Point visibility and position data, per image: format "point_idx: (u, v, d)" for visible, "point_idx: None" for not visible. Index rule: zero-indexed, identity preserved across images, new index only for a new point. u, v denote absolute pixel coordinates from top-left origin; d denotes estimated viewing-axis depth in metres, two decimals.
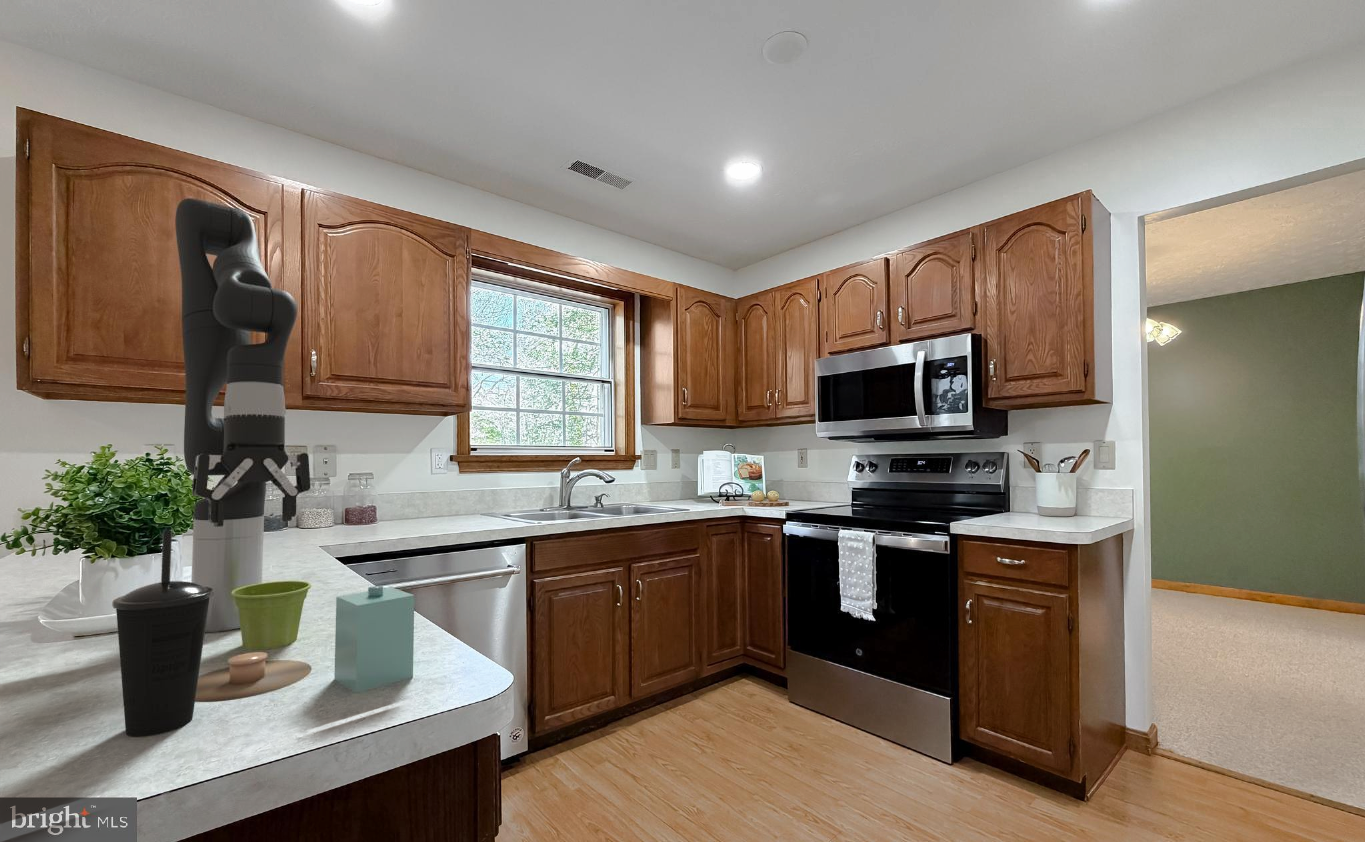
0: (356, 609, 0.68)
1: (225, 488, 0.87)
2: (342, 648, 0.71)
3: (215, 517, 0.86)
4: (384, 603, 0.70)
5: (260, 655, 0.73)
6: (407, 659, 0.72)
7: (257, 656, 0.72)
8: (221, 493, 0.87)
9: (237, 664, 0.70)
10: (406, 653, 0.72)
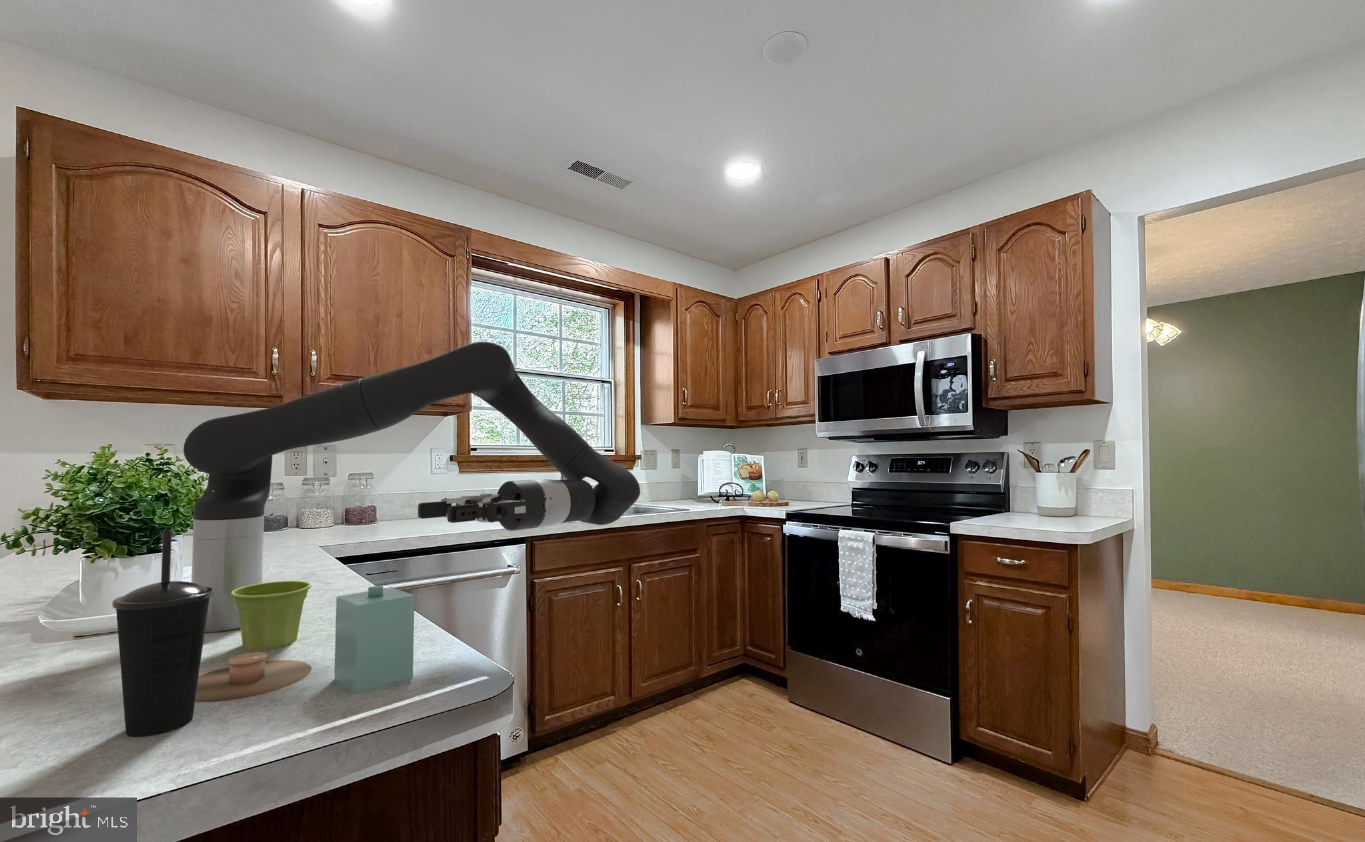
0: (356, 609, 0.68)
1: None
2: (342, 648, 0.71)
3: (460, 520, 0.81)
4: (384, 603, 0.70)
5: (260, 655, 0.73)
6: (407, 659, 0.72)
7: (257, 656, 0.72)
8: None
9: (237, 664, 0.70)
10: (406, 653, 0.72)
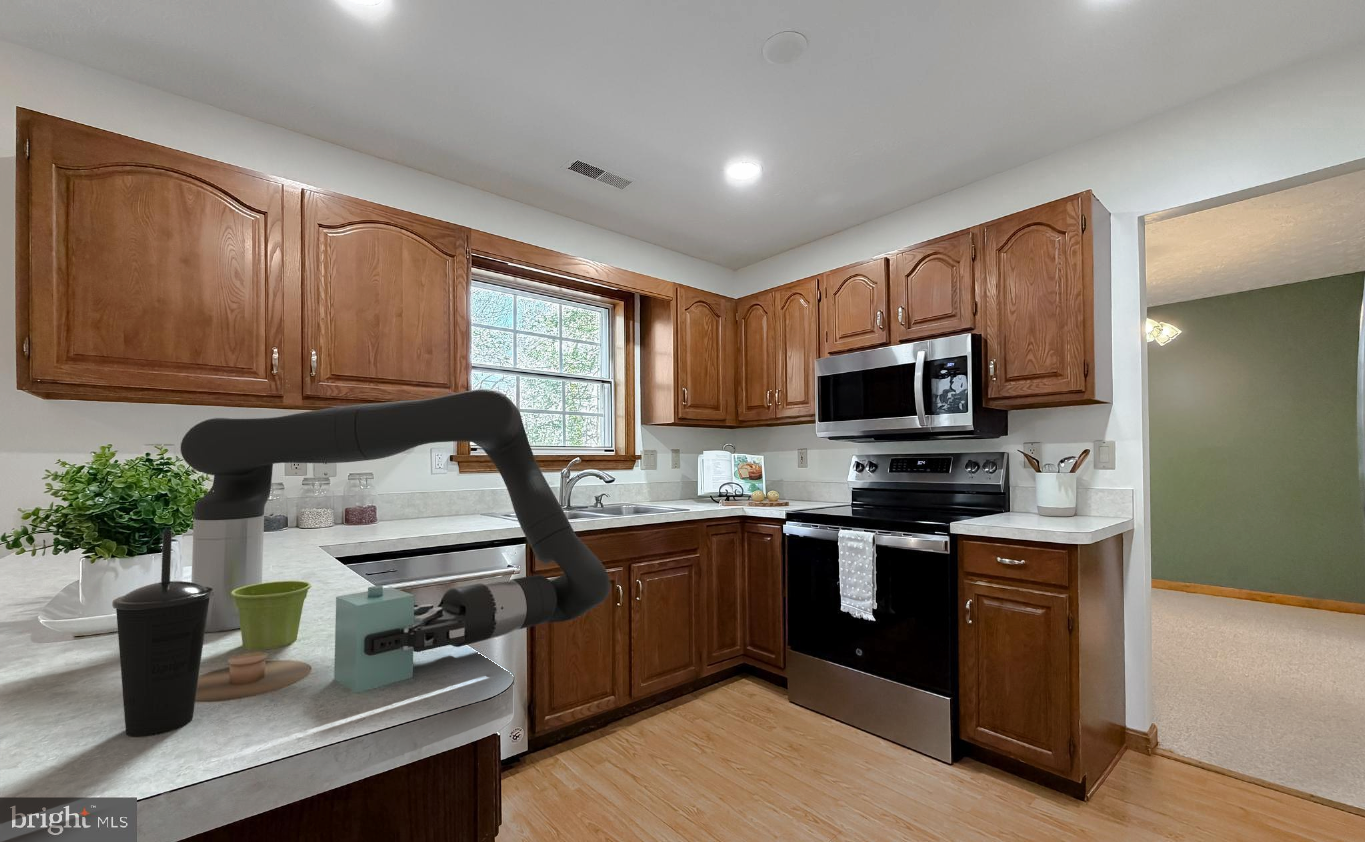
0: (356, 609, 0.68)
1: None
2: (342, 648, 0.71)
3: None
4: (384, 603, 0.70)
5: (260, 655, 0.73)
6: (407, 659, 0.72)
7: (257, 656, 0.72)
8: None
9: (237, 664, 0.70)
10: (406, 653, 0.72)
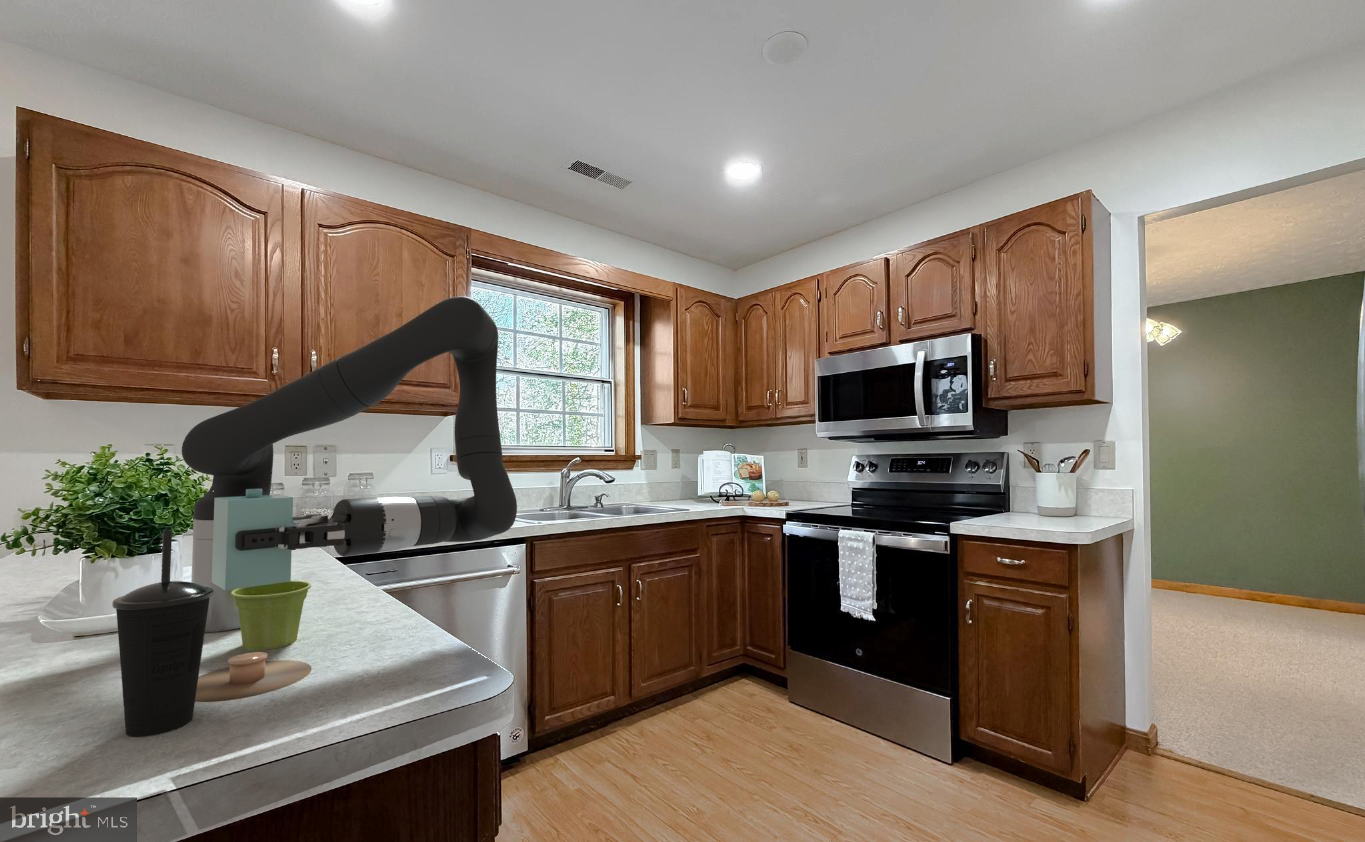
0: (227, 504, 0.69)
1: None
2: (217, 546, 0.71)
3: (251, 547, 0.69)
4: (258, 502, 0.71)
5: (260, 655, 0.73)
6: (284, 559, 0.72)
7: (257, 656, 0.72)
8: None
9: (237, 664, 0.70)
10: (283, 553, 0.72)
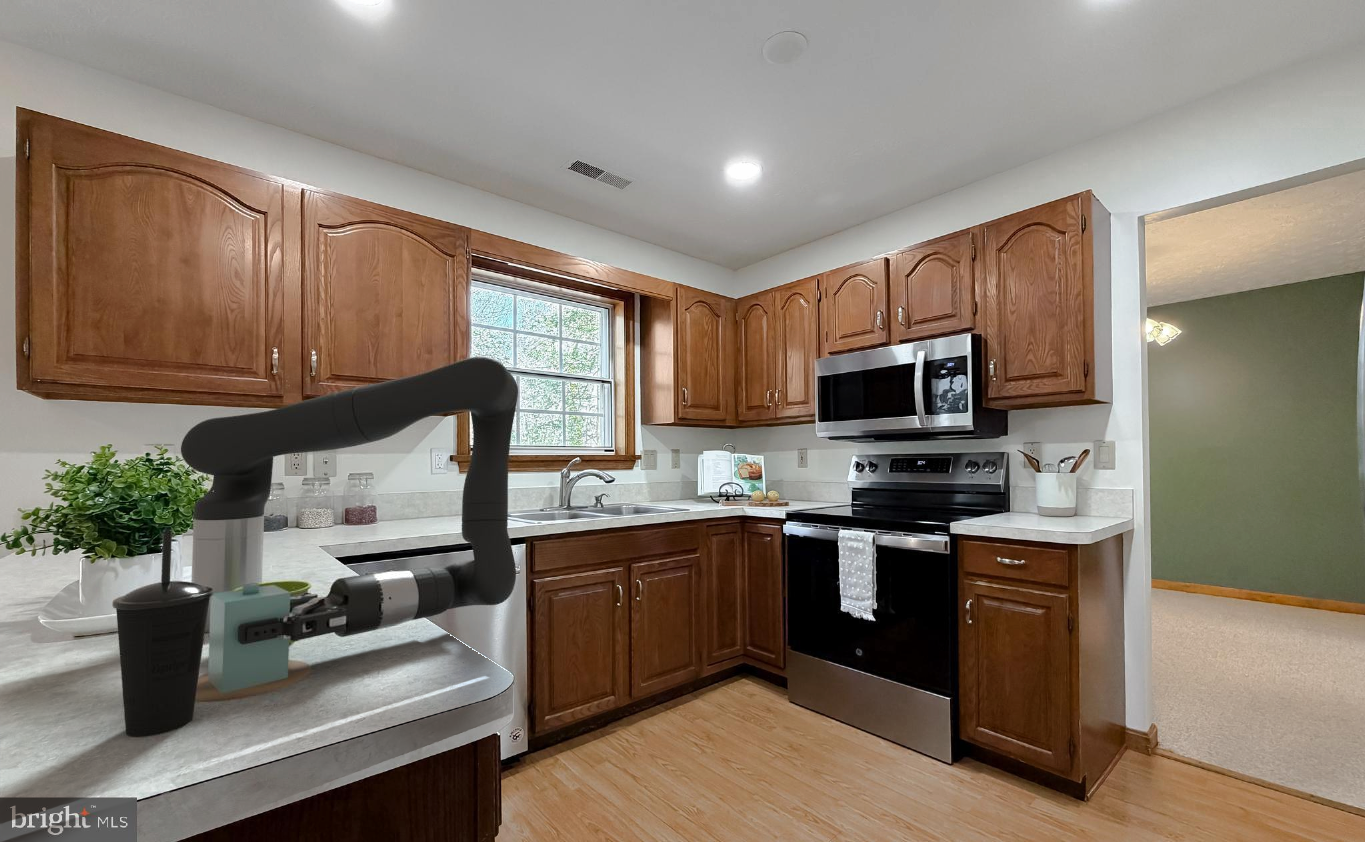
0: (223, 606, 0.68)
1: None
2: (213, 645, 0.70)
3: (253, 640, 0.69)
4: (255, 600, 0.70)
5: None
6: (281, 656, 0.72)
7: None
8: None
9: None
10: (280, 650, 0.72)
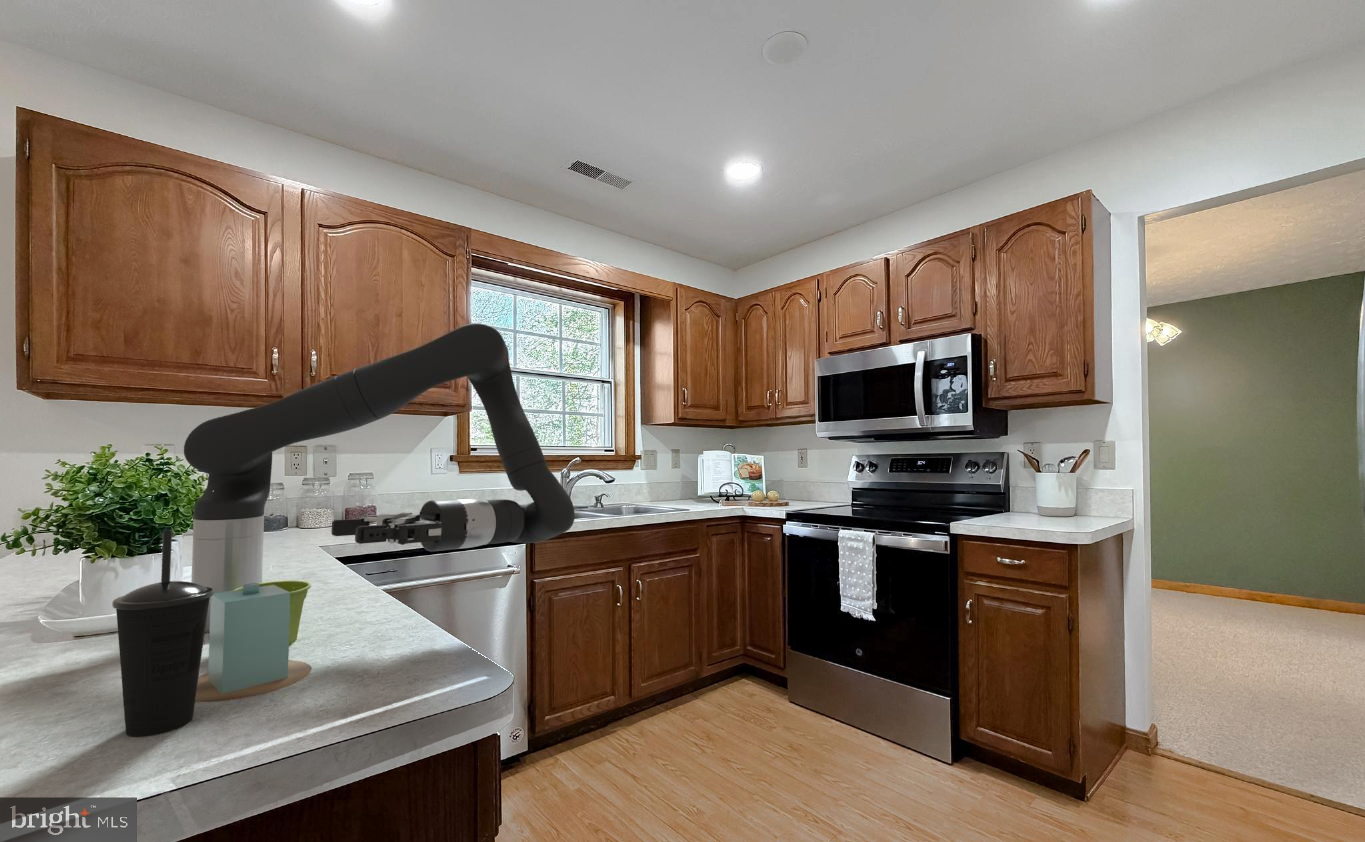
0: (223, 606, 0.68)
1: None
2: (213, 645, 0.70)
3: (368, 541, 0.79)
4: (255, 600, 0.70)
5: None
6: (281, 656, 0.72)
7: None
8: None
9: None
10: (280, 650, 0.72)
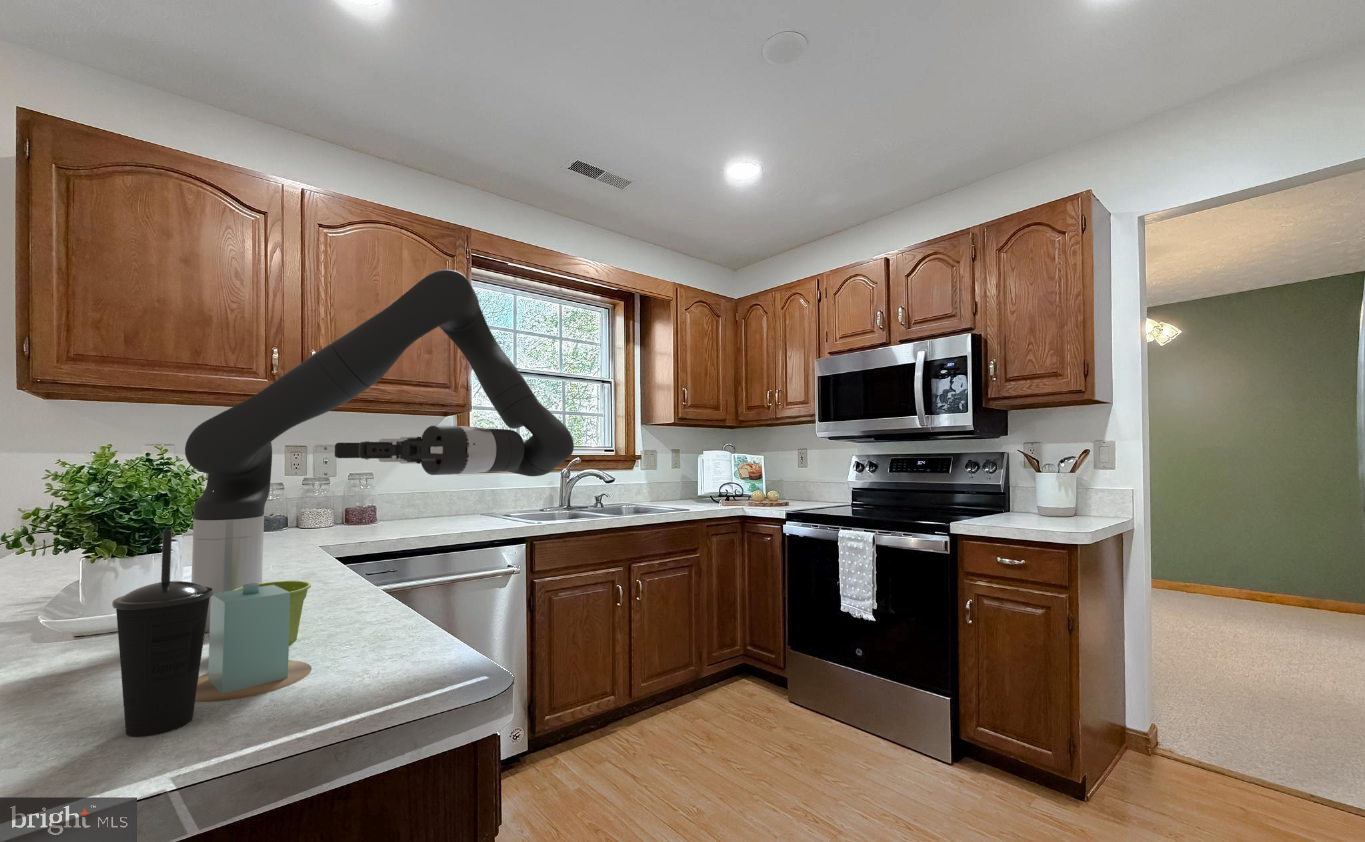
0: (223, 606, 0.68)
1: (398, 458, 0.84)
2: (213, 645, 0.70)
3: (371, 456, 0.81)
4: (255, 600, 0.70)
5: None
6: (281, 656, 0.72)
7: None
8: None
9: None
10: (280, 650, 0.72)
